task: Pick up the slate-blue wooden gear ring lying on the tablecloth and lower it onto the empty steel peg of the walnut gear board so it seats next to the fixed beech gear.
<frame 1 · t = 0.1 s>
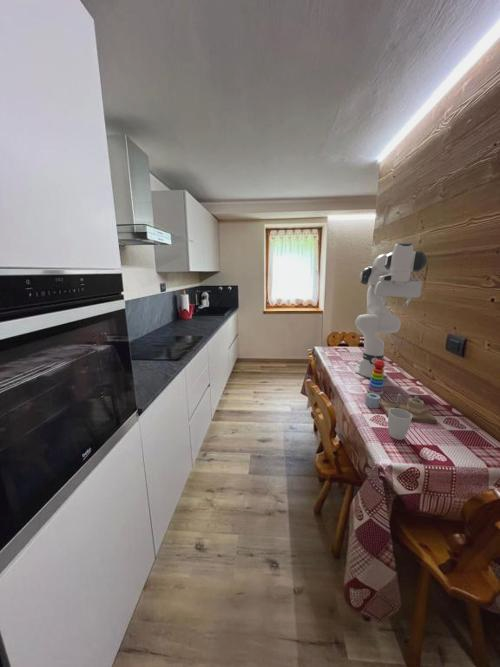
hand: (395, 306, 132), 48 cm above the table, fingers open, 8 cm apart
cup: (396, 436, 106), on the table
stacking toy: (374, 393, 145), on the table
gear board: (406, 412, 125), on the table
loose gear: (371, 405, 131), on the table
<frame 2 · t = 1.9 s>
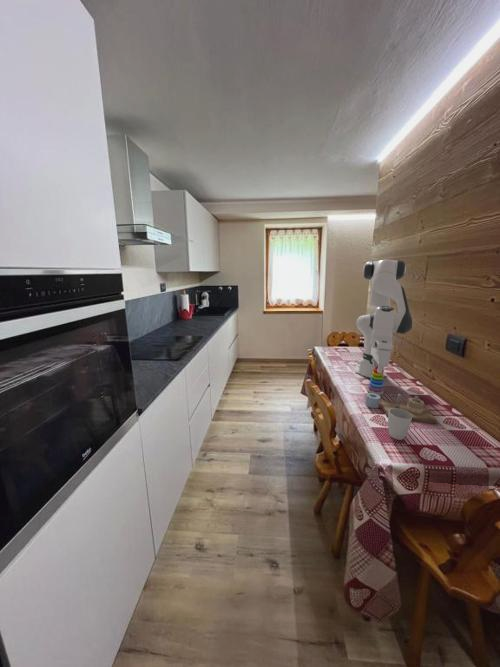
hand: (377, 369, 126), 19 cm above the table, fingers open, 8 cm apart
nothing on the table moved.
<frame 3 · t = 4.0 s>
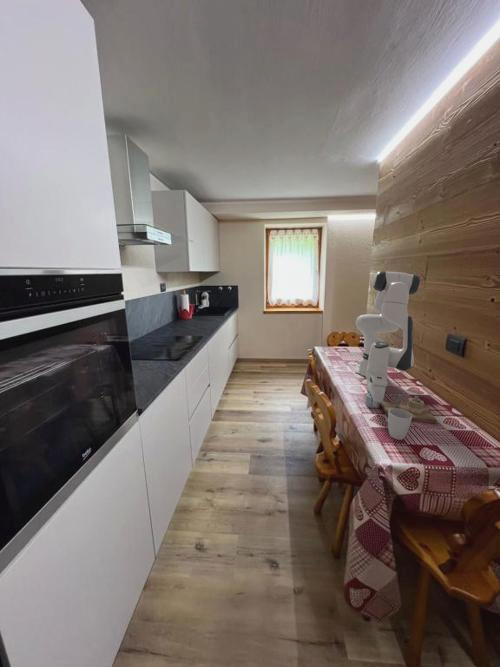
hand: (372, 401, 130), 2 cm above the table, fingers closed on loose gear, 6 cm apart
loose gear: (371, 405, 131), on the table, touching gripper
everything else where it was.
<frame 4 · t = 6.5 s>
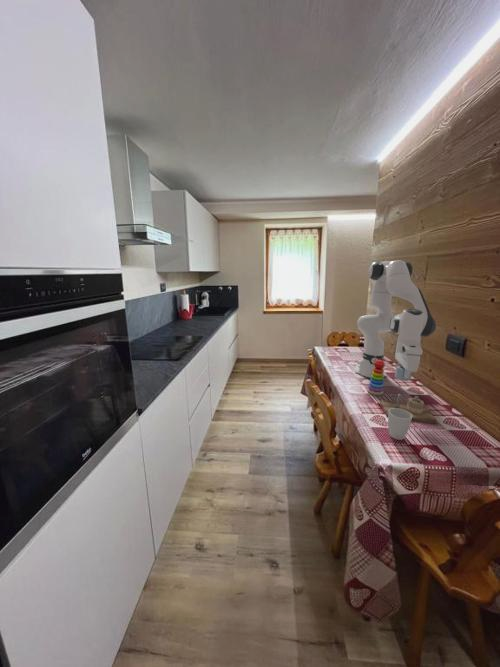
hand: (403, 374, 121), 18 cm above the table, fingers closed on loose gear, 6 cm apart
loose gear: (402, 378, 122), point 17 cm above the table, touching gripper
everything else where it was.
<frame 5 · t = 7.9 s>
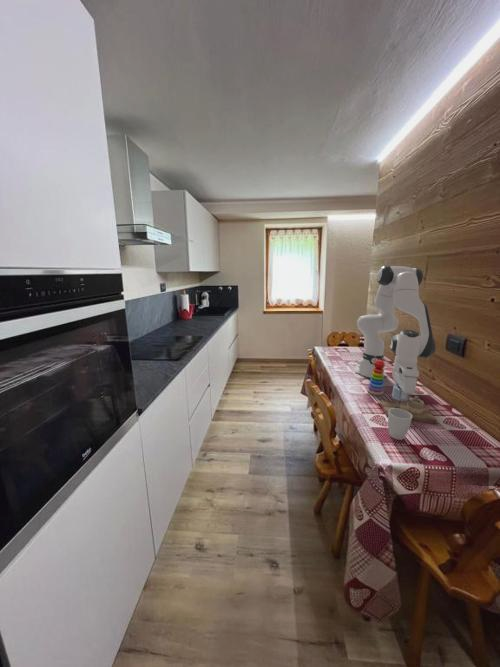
hand: (400, 394, 123), 9 cm above the table, fingers closed on loose gear, 6 cm apart
loose gear: (399, 397, 124), point 7 cm above the table, touching gripper
everything else where it was.
when the fingers open (5 cm above the table, at t = 9.1 s): loose gear drops 2 cm, resting on gear board.
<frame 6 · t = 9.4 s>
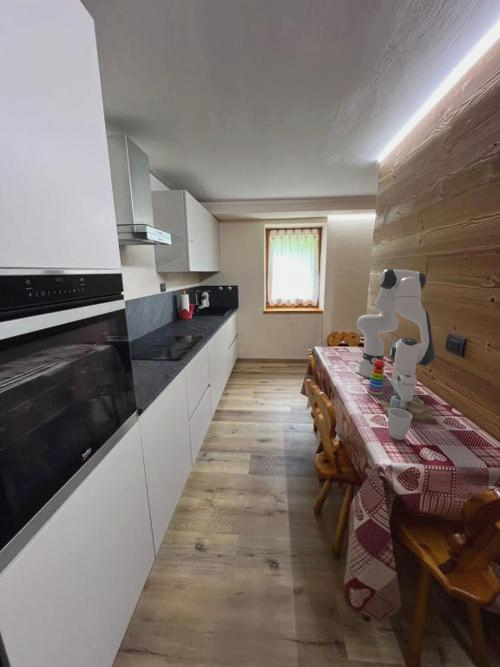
hand: (398, 401, 124), 5 cm above the table, fingers open, 8 cm apart
loose gear: (397, 408, 125), point 1 cm above the table, touching gear board
everything else where it was.
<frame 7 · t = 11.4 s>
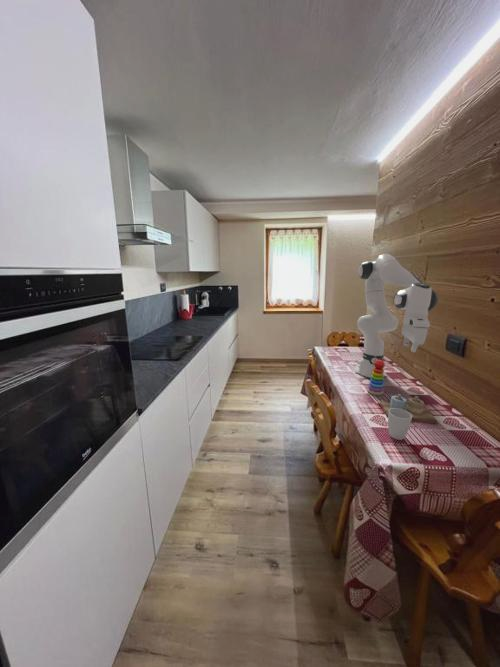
hand: (409, 348, 124), 29 cm above the table, fingers open, 8 cm apart
nothing on the table moved.
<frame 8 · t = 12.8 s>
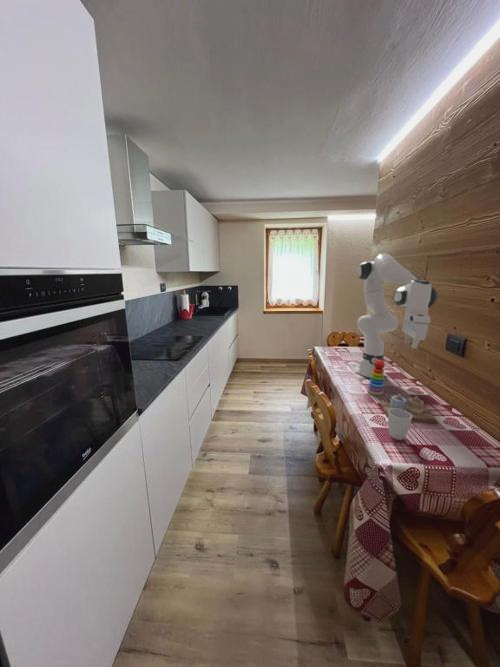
hand: (410, 345, 123), 31 cm above the table, fingers open, 8 cm apart
nothing on the table moved.
at the end: loose gear 0.0 cm from the target spot on the gear board, point 1.5 cm above the gear board's base; loose gear tilted 0°; the gripper is holding nothing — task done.
